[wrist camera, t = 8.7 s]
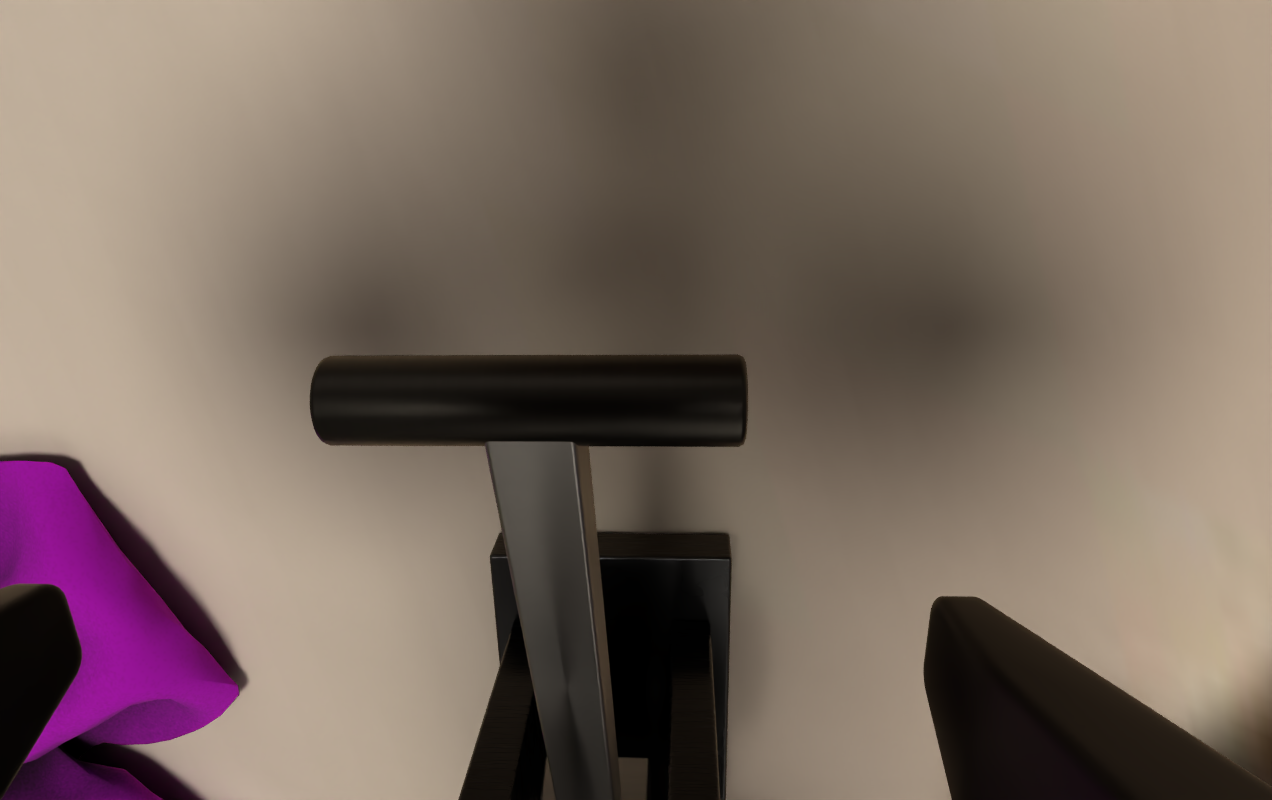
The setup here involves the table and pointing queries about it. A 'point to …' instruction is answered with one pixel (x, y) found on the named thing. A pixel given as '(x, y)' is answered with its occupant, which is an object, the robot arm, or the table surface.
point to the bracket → (627, 670)
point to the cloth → (100, 642)
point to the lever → (545, 498)
